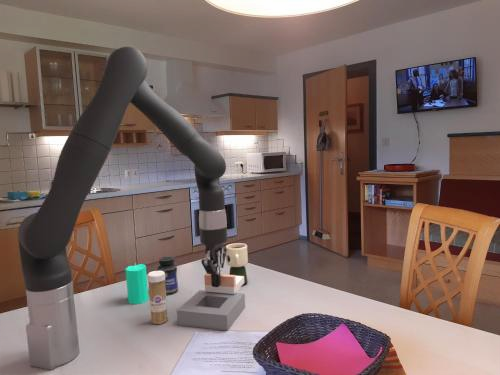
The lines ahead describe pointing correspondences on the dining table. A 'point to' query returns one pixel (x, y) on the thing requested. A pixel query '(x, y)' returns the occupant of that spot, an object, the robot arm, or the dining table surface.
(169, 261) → the pill bottle
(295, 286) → the dining table surface
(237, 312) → the socket block
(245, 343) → the dining table surface
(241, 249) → the character mug
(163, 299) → the sprinkles bottle
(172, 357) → the dining table surface
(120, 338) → the dining table surface
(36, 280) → the robot arm
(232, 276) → the panel
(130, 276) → the candle
